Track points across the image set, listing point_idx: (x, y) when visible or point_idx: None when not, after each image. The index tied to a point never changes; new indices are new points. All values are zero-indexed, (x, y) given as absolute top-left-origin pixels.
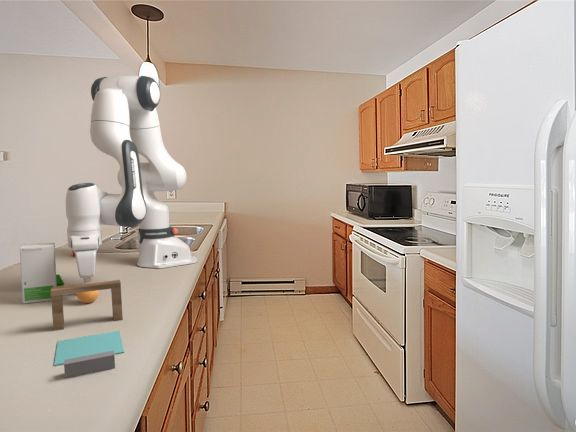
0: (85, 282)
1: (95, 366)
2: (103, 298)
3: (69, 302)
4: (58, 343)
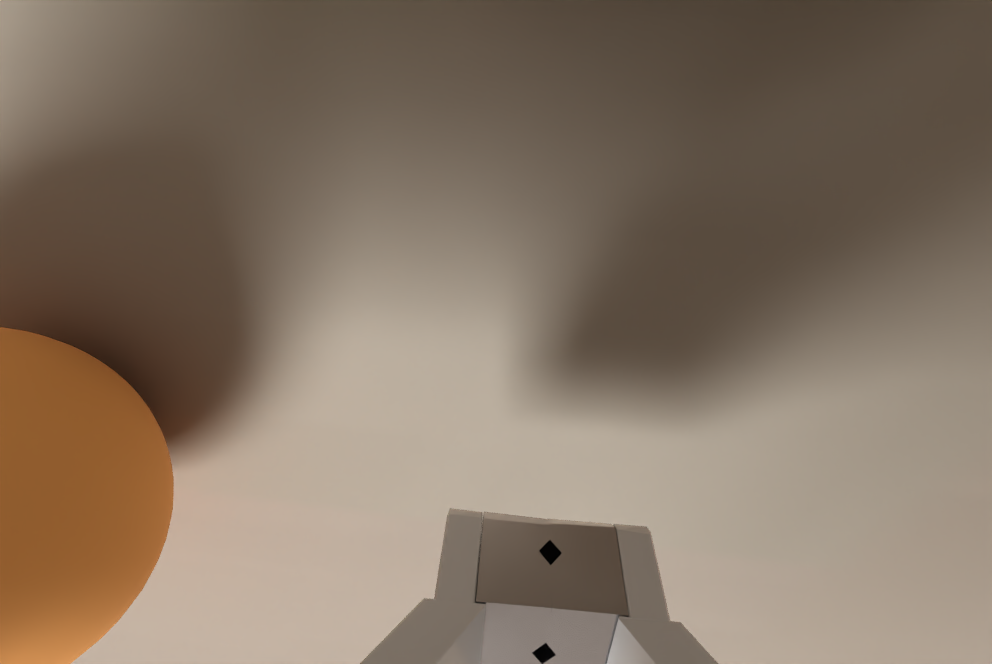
0: (437, 601)
1: None
2: (216, 557)
3: (181, 163)
4: None
